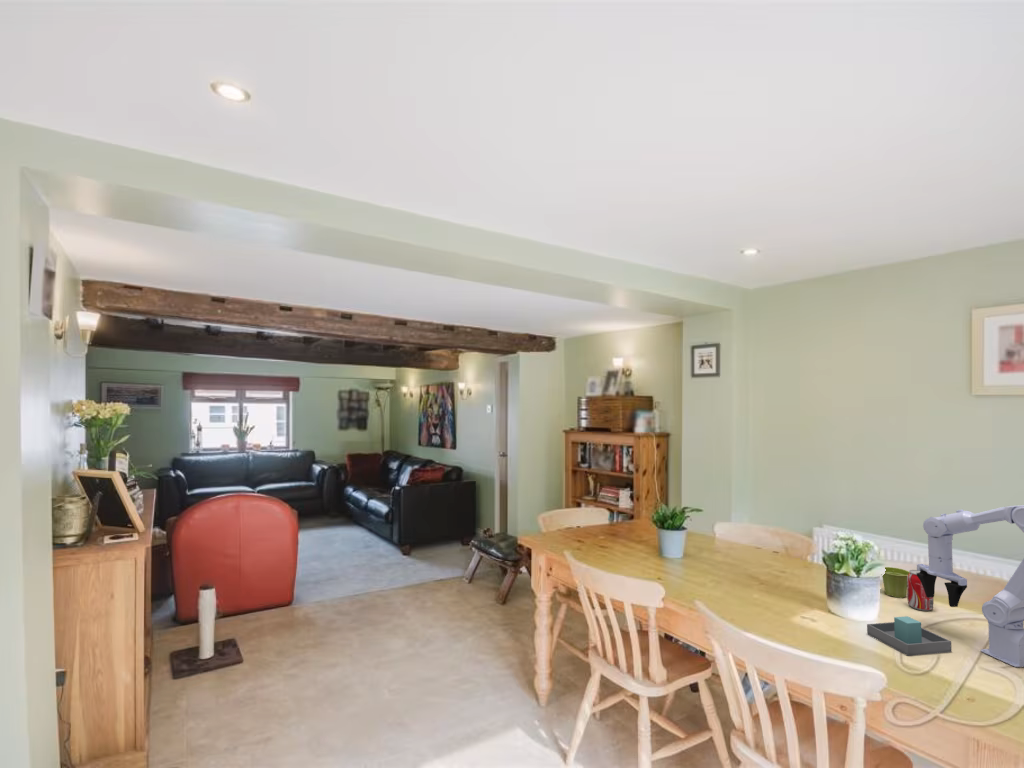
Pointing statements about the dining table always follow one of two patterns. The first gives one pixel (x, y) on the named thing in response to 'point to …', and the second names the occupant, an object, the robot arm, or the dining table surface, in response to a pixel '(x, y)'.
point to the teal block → (907, 630)
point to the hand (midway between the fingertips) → (941, 601)
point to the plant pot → (895, 582)
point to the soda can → (917, 593)
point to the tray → (928, 646)
